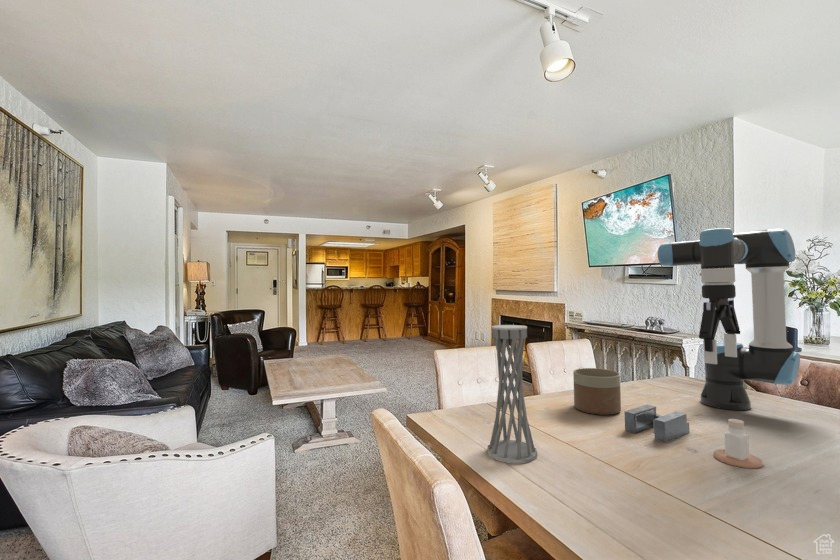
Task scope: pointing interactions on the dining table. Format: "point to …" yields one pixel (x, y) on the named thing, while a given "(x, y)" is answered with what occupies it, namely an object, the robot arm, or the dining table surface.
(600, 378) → the planter
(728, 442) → the pepper shaker
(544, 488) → the dining table surface
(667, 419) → the vise
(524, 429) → the grey tall lattice tower
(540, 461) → the dining table surface
